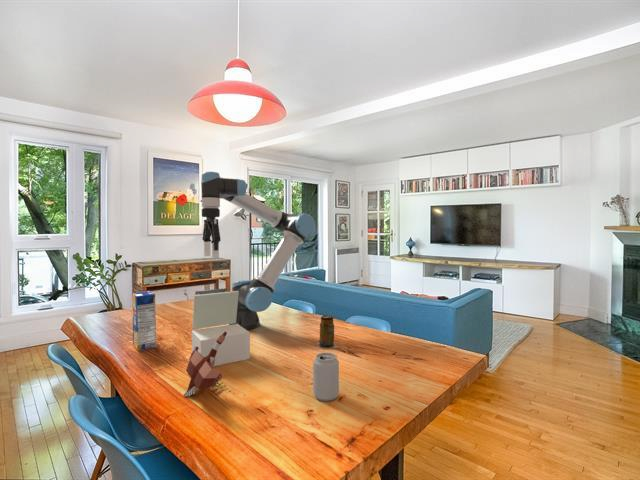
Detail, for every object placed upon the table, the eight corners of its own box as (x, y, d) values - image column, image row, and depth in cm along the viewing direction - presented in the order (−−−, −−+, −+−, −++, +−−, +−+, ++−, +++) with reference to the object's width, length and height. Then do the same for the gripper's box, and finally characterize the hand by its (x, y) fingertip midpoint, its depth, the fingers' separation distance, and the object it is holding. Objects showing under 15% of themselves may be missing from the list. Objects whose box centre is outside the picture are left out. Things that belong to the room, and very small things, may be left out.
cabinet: (237, 347, 144) (237, 323, 143) (250, 358, 132) (249, 332, 131) (191, 356, 134) (191, 330, 134) (201, 368, 122) (200, 340, 122)
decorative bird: (262, 387, 100) (242, 343, 96) (202, 430, 91) (178, 383, 88) (229, 357, 124) (213, 320, 120) (180, 388, 115) (160, 350, 111)
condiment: (331, 341, 152) (331, 314, 152) (339, 347, 144) (339, 318, 144) (315, 343, 150) (315, 315, 149) (322, 349, 142) (322, 320, 141)
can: (312, 390, 106) (312, 351, 105) (337, 389, 106) (337, 350, 106) (314, 403, 98) (314, 360, 98) (340, 401, 99) (340, 360, 99)
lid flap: (235, 323, 143) (228, 312, 151) (238, 291, 140) (231, 282, 147) (192, 329, 134) (187, 318, 142) (194, 296, 131) (189, 286, 138)
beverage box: (137, 350, 140) (136, 296, 140) (133, 343, 149) (132, 292, 148) (156, 347, 144) (155, 294, 144) (150, 340, 153) (149, 290, 153)
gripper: (195, 209, 160) (195, 255, 161) (209, 206, 140) (210, 259, 140) (211, 209, 164) (212, 255, 165) (228, 206, 144) (228, 258, 144)
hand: (211, 257), depth 153 cm, fingers open, 12 cm apart
